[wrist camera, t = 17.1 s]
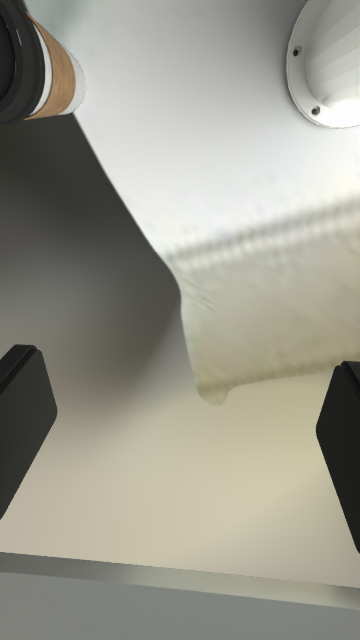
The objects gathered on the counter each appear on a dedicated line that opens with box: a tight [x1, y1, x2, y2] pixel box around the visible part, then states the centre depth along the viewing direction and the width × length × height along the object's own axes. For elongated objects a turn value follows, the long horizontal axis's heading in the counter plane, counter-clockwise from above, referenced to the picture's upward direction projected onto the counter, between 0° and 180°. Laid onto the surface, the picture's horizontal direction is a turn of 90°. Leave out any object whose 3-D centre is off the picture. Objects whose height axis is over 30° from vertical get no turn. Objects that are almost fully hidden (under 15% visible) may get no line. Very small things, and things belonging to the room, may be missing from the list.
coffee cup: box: [0, 0, 85, 124], centre depth 27 cm, size 8×8×15 cm
